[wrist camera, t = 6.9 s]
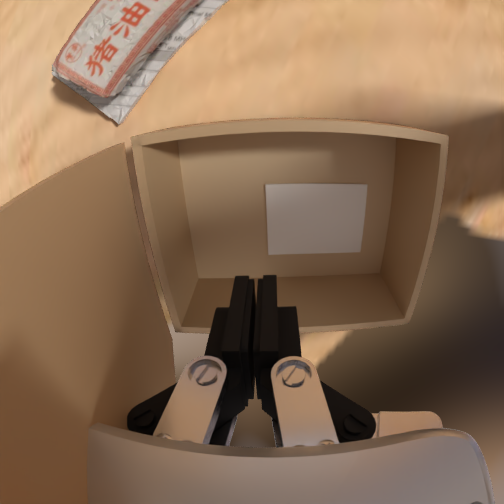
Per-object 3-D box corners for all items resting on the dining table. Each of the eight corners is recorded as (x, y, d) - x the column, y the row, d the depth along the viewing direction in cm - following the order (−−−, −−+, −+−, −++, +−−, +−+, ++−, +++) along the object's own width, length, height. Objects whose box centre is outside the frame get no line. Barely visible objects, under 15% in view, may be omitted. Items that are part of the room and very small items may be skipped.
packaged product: (170, -91, 5) (271, -56, 8) (185, -66, 9) (270, -28, 12) (26, 75, 12) (94, 131, 15) (60, 74, 16) (125, 125, 19)
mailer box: (399, 125, 18) (448, 135, 12) (382, 274, 24) (408, 323, 18) (171, 127, 19) (130, 137, 13) (194, 280, 26) (175, 332, 20)
